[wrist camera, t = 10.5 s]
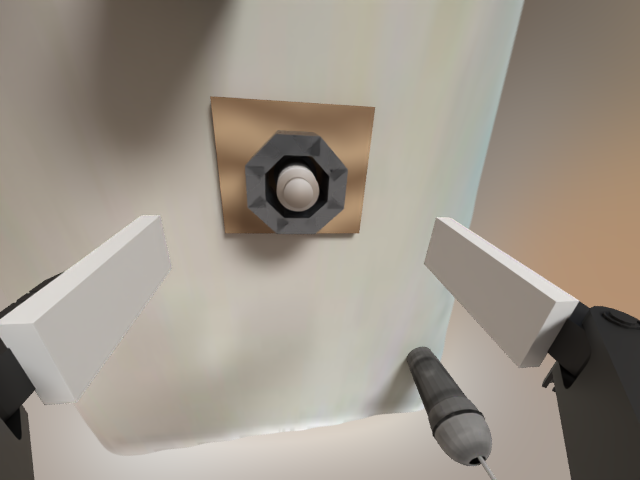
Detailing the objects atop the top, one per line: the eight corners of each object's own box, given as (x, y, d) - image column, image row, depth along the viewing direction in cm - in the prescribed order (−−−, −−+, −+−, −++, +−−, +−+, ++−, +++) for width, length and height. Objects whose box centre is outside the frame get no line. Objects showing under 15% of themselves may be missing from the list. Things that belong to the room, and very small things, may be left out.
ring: (251, 128, 26) (242, 132, 21) (338, 133, 27) (351, 137, 22) (255, 212, 30) (249, 233, 25) (331, 213, 31) (341, 234, 26)
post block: (213, 97, 26) (179, 89, 17) (371, 107, 28) (408, 104, 20) (227, 229, 32) (207, 269, 23) (356, 229, 34) (379, 266, 25)
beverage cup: (408, 339, 44) (494, 496, 26) (446, 342, 45) (552, 493, 27) (393, 369, 46) (461, 529, 29) (429, 372, 48) (515, 525, 30)
